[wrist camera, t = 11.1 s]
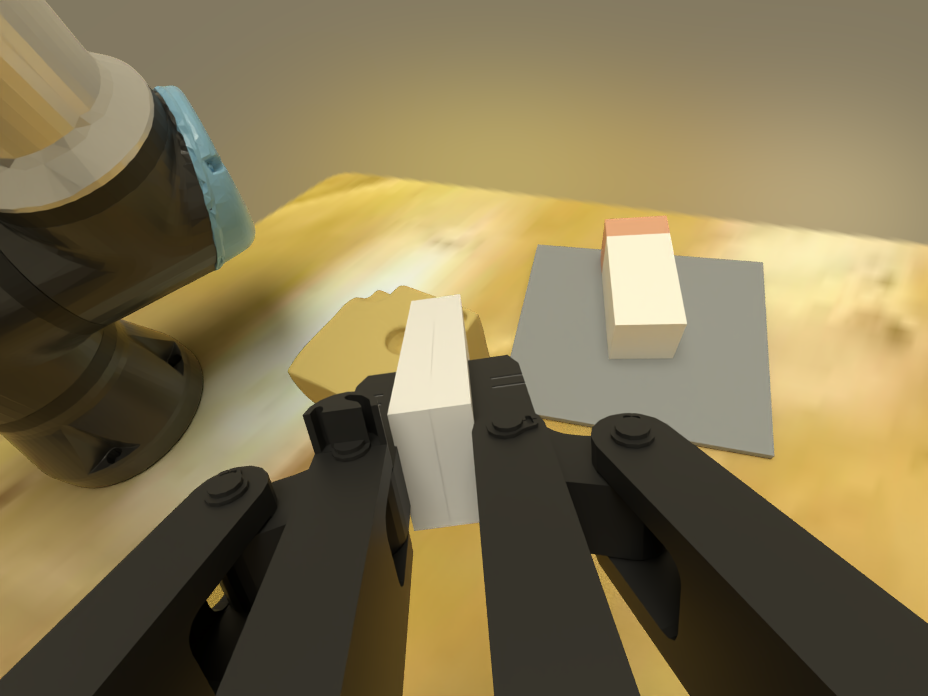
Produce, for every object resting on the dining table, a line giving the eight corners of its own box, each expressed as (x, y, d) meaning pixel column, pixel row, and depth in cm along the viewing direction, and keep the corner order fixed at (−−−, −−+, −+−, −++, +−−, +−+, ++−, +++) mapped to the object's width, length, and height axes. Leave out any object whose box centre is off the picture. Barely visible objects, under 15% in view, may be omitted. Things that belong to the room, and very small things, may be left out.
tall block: (615, 325, 35) (605, 219, 41) (608, 358, 40) (600, 258, 45) (687, 323, 34) (666, 215, 40) (672, 358, 39) (655, 256, 44)
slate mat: (498, 410, 39) (498, 407, 39) (537, 248, 48) (537, 244, 47) (771, 458, 34) (774, 456, 33) (760, 266, 43) (762, 262, 42)
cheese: (402, 334, 45) (367, 264, 37) (502, 378, 41) (488, 310, 33) (335, 426, 41) (279, 370, 33) (438, 485, 37) (404, 438, 29)
